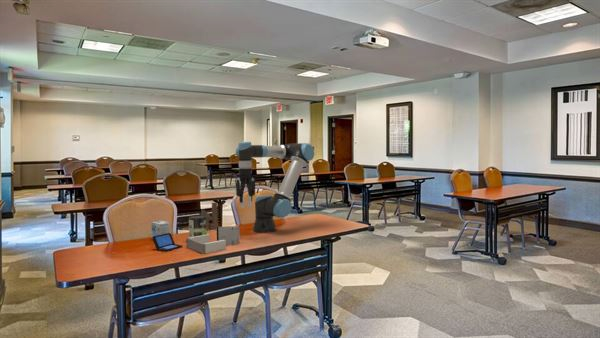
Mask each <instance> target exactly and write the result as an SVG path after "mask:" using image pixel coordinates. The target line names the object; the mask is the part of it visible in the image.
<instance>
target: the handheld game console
mask: <svg viewBox="0 0 600 338" xmlns="http://www.w3.org/2000/svg"><path fill="white" fill-rule="evenodd" d="M151 239H152V241H153V244H154V246H155V250H156V251H159V252H163V253H166V252H167V253H168V252H170V251H174V250H178V249H181V248H183V245H182V244H176V242H175V241H174V238H173V235H172V234H171V232H170V233H166V234H162V235H157V236H153V237H152V236H151Z"/></svg>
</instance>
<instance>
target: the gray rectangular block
mask: <svg viewBox="0 0 600 338" xmlns="http://www.w3.org/2000/svg"><path fill="white" fill-rule="evenodd" d="M220 240H226V246H231V245H237V243H240V224H235V225H229V226H219V227H217V229H216V241H220Z"/></svg>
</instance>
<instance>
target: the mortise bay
mask: <svg viewBox="0 0 600 338" xmlns="http://www.w3.org/2000/svg"><path fill="white" fill-rule="evenodd" d="M185 239H186V240H185V241H186V244H185V245H186V248H188V249H190V250H193V251H195V252H198V253H199V254H201V255H205V254H210V253H214V252H219V251H225V250H227V245H226V240H220V241H217V240H216V241H215V240H214V241H211V237H210V234H209V233H207V235H201V236H195V237H189V236H188V237H186V238H185Z"/></svg>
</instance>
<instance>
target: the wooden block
mask: <svg viewBox="0 0 600 338" xmlns="http://www.w3.org/2000/svg"><path fill="white" fill-rule="evenodd" d="M201 215H202V216H206V231H210V230H211V231H212V230H217V227H220V226H219V223H218V221H219V220H218V202H216V201H214V202H213V201H212V202H211V215H210V214H209V212H207V211H206V210H205V209H201ZM210 220H211V223H210Z"/></svg>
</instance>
